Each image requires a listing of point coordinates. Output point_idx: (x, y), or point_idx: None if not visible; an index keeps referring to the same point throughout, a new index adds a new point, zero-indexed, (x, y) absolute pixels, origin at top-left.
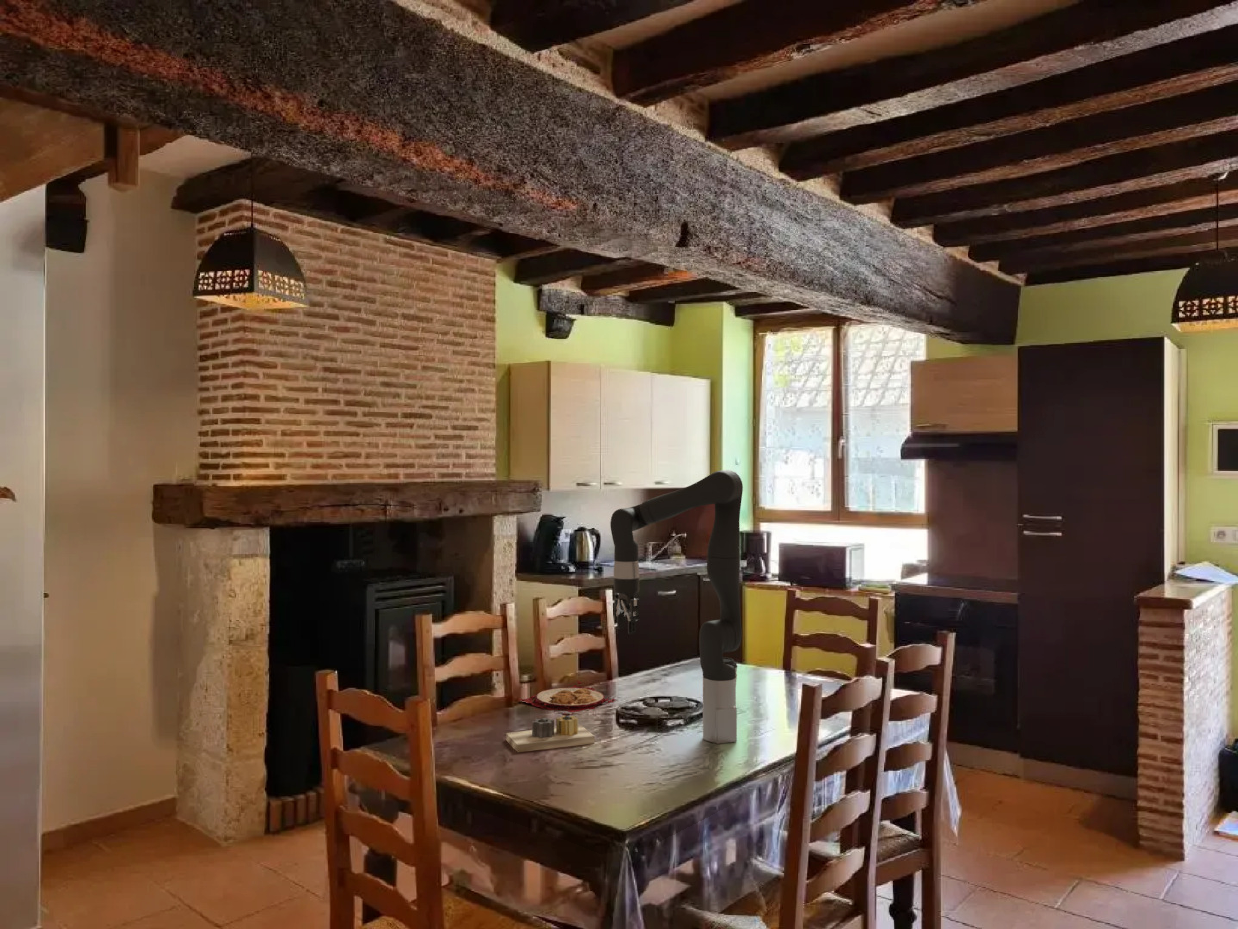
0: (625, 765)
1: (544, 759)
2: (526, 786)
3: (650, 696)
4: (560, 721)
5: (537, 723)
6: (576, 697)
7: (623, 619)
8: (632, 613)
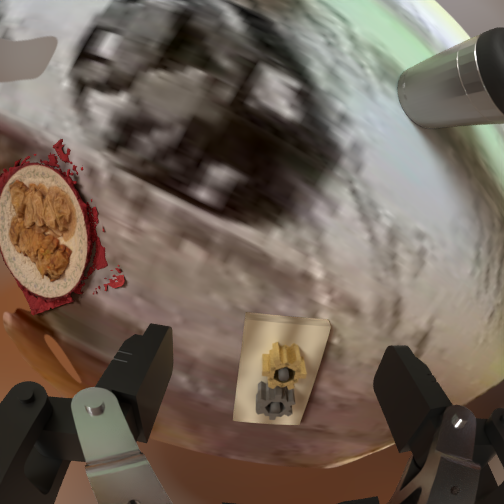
0: (439, 318)
1: (347, 399)
2: None
3: (70, 63)
4: (292, 387)
5: (281, 415)
6: (42, 225)
7: (146, 390)
8: (492, 484)
